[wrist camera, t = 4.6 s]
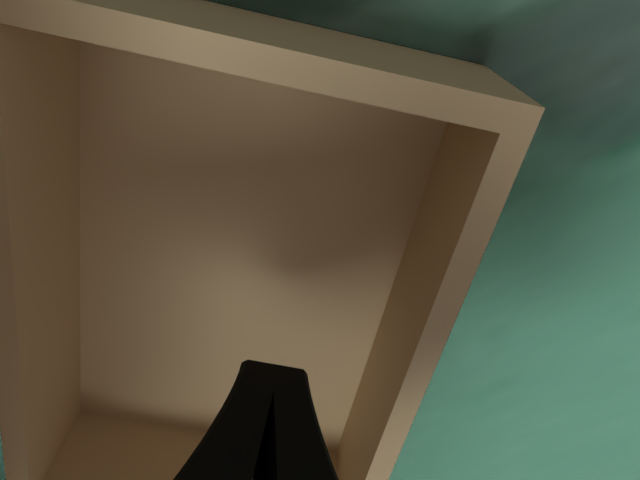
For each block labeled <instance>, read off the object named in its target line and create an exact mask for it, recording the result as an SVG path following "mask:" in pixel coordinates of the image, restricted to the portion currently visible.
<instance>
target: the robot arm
mask: <svg viewBox="0 0 640 480" xmlns="http://www.w3.org/2000/svg"><path fill="white" fill-rule="evenodd" d="M252 479H253V480H339V479H338V477H337V474H336V471H335V469H334V466H333V464H332V461H331V458H330V455H329V452H328V449H327V447H326V444H325V441H324V438H323V435H322V432H321V429H320V426H319V422H318V419H317V415H316V412H315V408H314V404H313V400H312V396H311V392H310V387H309V381H308V374H307V373H306V372H305V370H304V369H300V368H294V367H288V366H282V365H277V364H271V363H265V362H259V361H254V360H246V361H244V362H242V363H241V366H240V370H239V373H238V375H237V378H236V380H235V382H234V385H233V387H232V389H231V391H230V393H229V395H228V397H227V398H226V400H225V402H224V404H223V406H222V408H221V409H220V411H219V413H218V414H217V416H216V418H215V419H214V421H213V422H212V424H211V426H210V427H209V429H208V431H207V432H206V434H205V435H204V437H203V438H202V440H201V441H200V443H199V444H198V446H197V447H196V449H195V450H194V451H193V453H192V454H191V456H190V457H189V458H188V460H187V461H186V463H185V464H184V466H183V467H182V468H181V470H180V471H179V472H178V474H177V475H176V476H175V478H174V479H173V480H252Z"/></svg>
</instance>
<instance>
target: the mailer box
mask: <svg viewBox="0 0 640 480" xmlns="http://www.w3.org/2000/svg"><path fill="white" fill-rule="evenodd" d="M544 110H545V107H543V106H542V105H540V104H539V103H537V102H536V101H535V100H533V99H532V98H530V97H529V96H528V95H526V94H525V93H523V92H522V91H520V90H519V89H518V88H516V87H515V86H513V85H512V84H510V83H509V82H508V81H506V80H505V79H503V78H502V77H501V76H499V75H498V74H496V73H495V72H493V71H492V70H491V69H489V68H488V67H486V66H485V65H481V64H476V63H472V62H468V61H463V60H459V59H455V58H451V57H446V56H442V55H438V54H433V53H429V52H425V51H420V50H416V49H412V48H408V47H403V46H399V45H395V44H390V43H386V42H382V41H377V40H373V39H369V38H365V37H360V36H356V35H352V34H347V33H343V32H339V31H334V30H330V29H326V28H322V27H317V26H313V25H309V24H304V23H300V22H296V21H291V20H287V19H283V18H279V17H274V16H270V15H266V14H261V13H257V12H253V11H248V10H244V9H240V8H236V7H231V6H227V5H223V4H218V3H214V2H210V1H205V0H0V429H1V438H2V448H3V457H4V466H5V476H6V480H173V479H174V478H175V476H176V475H177V474H178V472H179V471H180V470H181V468H182V467H183V466H184V464H185V463H186V461H187V460H188V458H189V457H190V456H191V454H192V453H193V451H194V450H195V449H196V447H197V446H198V444H199V443H200V441H201V440H202V438H203V437H204V435H205V434H206V432H207V431H208V429H209V427H210V426H211V424H212V422H213V421H214V419H215V418H216V416H217V414H218V413H219V411H220V409H221V408H222V406H223V404H224V402H225V400H226V398H227V397H228V395H229V393H230V391H231V389H232V387H233V385H234V382H235V380H236V378H237V375H238V373H239V370H240V366H241V363H242V362H244V361H246V360H254V361H259V362H265V363H271V364H277V365H282V366H288V367H294V368H300V369H304V370H305V372H306V373H307V374H308V381H309V387H310V392H311V396H312V400H313V404H314V408H315V412H316V415H317V419H318V422H319V426H320V429H321V432H322V435H323V438H324V441H325V444H326V447H327V449H328V452H329V455H330V458H331V461H332V464H333V466H334V469H335V471H336V474H337V477H338V479H339V480H388V479H389V477H390V475H391V472H392V470H393V468H394V465H395V463H396V460H397V458H398V456H399V453H400V451H401V449H402V446H403V444H404V442H405V439H406V437H407V434H408V432H409V430H410V427H411V425H412V423H413V420H414V418H415V415H416V413H417V411H418V408H419V406H420V404H421V401H422V399H423V397H424V394H425V392H426V389H427V387H428V385H429V382H430V380H431V378H432V375H433V373H434V370H435V368H436V366H437V363H438V361H439V359H440V356H441V354H442V351H443V349H444V347H445V344H446V342H447V340H448V337H449V335H450V333H451V330H452V328H453V325H454V323H455V321H456V318H457V316H458V314H459V311H460V309H461V306H462V304H463V302H464V299H465V297H466V295H467V292H468V290H469V288H470V285H471V283H472V280H473V278H474V276H475V273H476V271H477V269H478V266H479V264H480V261H481V259H482V257H483V254H484V252H485V250H486V247H487V245H488V243H489V240H490V238H491V235H492V233H493V231H494V228H495V226H496V224H497V221H498V219H499V216H500V214H501V212H502V209H503V207H504V205H505V202H506V200H507V198H508V195H509V193H510V190H511V188H512V186H513V183H514V181H515V179H516V176H517V174H518V171H519V169H520V167H521V164H522V162H523V160H524V157H525V155H526V153H527V150H528V148H529V145H530V143H531V141H532V138H533V136H534V134H535V131H536V129H537V126H538V124H539V122H540V119H541V117H542V115H543V112H544ZM252 480H253V479H252Z"/></svg>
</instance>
